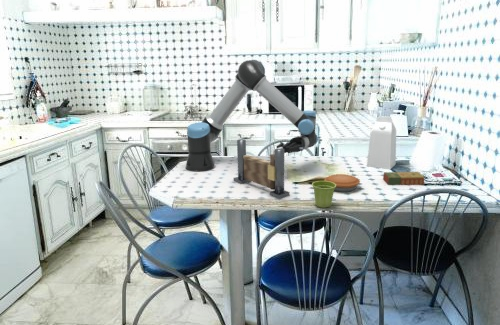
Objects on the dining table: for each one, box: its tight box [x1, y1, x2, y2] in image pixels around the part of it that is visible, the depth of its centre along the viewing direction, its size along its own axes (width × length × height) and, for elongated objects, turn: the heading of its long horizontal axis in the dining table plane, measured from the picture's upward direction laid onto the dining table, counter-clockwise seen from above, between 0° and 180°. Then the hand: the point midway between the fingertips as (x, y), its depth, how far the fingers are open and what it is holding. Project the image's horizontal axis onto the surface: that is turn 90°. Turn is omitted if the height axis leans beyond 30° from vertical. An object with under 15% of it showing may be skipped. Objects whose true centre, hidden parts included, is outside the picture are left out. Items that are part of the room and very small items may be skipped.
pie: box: [323, 173, 361, 193], centre depth 182 cm, size 16×16×5 cm
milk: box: [366, 115, 397, 170], centre depth 213 cm, size 12×12×26 cm
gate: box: [243, 153, 275, 191], centre depth 181 cm, size 21×3×15 cm, turn 38°
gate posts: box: [233, 138, 290, 200], centre depth 181 cm, size 32×6×20 cm, turn 38°
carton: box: [382, 171, 425, 186], centre depth 188 cm, size 8×16×4 cm, turn 87°
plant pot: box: [311, 180, 336, 209], centre depth 161 cm, size 9×9×9 cm
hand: (274, 152), depth 190 cm, fingers closed
